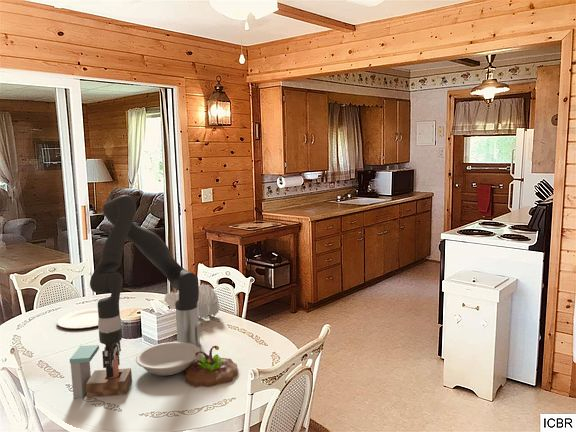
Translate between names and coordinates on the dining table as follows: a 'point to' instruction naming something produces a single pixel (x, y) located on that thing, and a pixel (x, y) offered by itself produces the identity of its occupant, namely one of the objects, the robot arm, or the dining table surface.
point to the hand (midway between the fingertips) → (113, 371)
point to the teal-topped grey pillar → (81, 368)
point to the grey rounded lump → (199, 301)
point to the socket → (108, 383)
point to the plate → (80, 319)
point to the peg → (115, 368)
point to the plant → (211, 370)
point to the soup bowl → (167, 357)
